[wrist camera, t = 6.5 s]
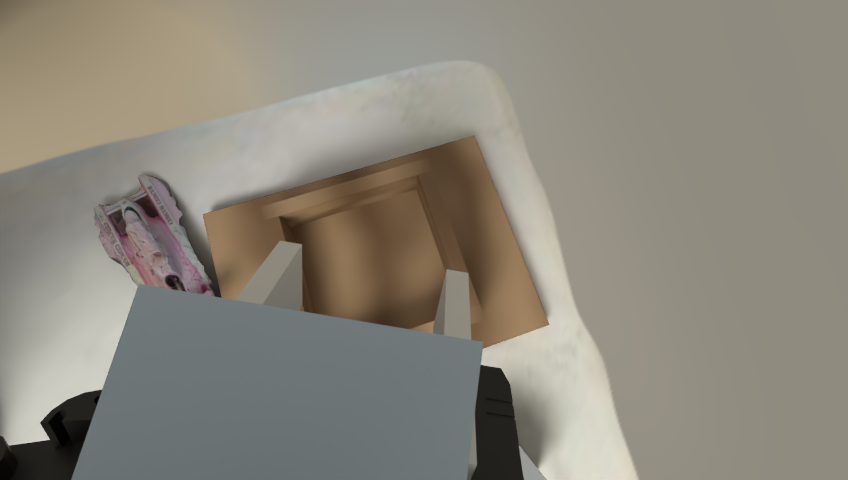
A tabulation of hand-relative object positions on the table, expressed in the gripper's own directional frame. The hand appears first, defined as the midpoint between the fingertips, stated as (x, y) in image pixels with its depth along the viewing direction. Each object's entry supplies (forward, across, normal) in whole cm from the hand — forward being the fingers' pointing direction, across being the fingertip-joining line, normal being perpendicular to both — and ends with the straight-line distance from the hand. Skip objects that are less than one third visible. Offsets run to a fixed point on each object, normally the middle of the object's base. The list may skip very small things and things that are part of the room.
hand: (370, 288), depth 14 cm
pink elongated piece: (+13, -17, -11) cm, 24 cm away
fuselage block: (0, 0, -5) cm, 5 cm away
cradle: (+13, -1, -9) cm, 16 cm away
